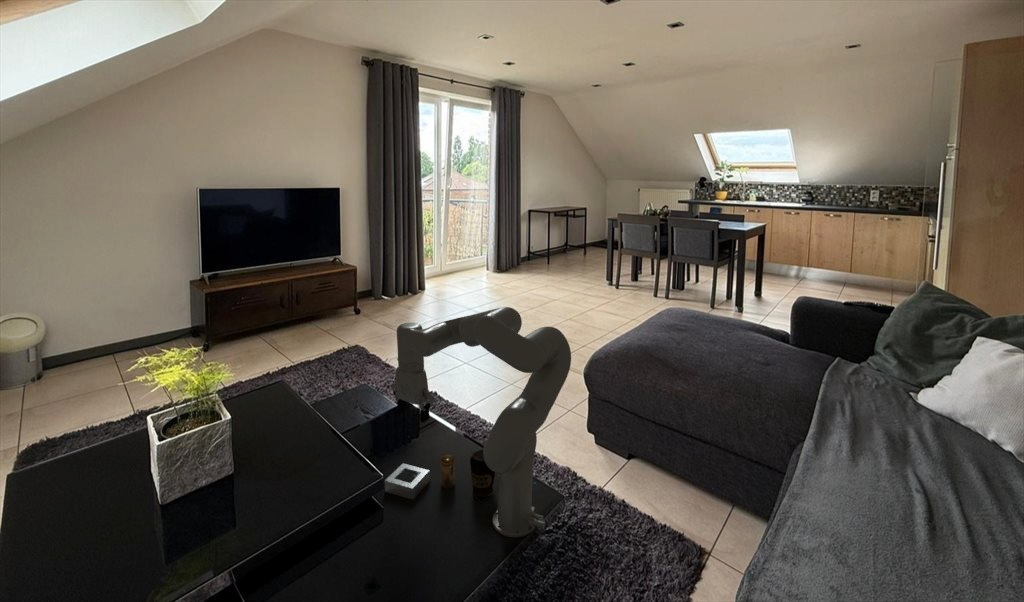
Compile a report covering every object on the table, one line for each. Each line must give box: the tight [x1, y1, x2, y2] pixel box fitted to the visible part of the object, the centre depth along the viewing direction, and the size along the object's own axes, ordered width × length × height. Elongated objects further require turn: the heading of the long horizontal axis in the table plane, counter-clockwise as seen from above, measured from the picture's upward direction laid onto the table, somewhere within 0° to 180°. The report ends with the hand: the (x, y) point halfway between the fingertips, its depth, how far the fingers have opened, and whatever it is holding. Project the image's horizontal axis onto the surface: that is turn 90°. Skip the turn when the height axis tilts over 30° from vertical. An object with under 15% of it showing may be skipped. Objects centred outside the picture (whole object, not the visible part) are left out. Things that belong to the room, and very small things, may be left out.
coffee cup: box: [469, 449, 496, 498], centre depth 152 cm, size 9×8×13 cm
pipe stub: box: [438, 454, 456, 489], centre depth 156 cm, size 5×5×9 cm
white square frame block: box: [384, 463, 431, 501], centre depth 155 cm, size 10×10×4 cm
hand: (413, 416), depth 150 cm, fingers open, 9 cm apart
